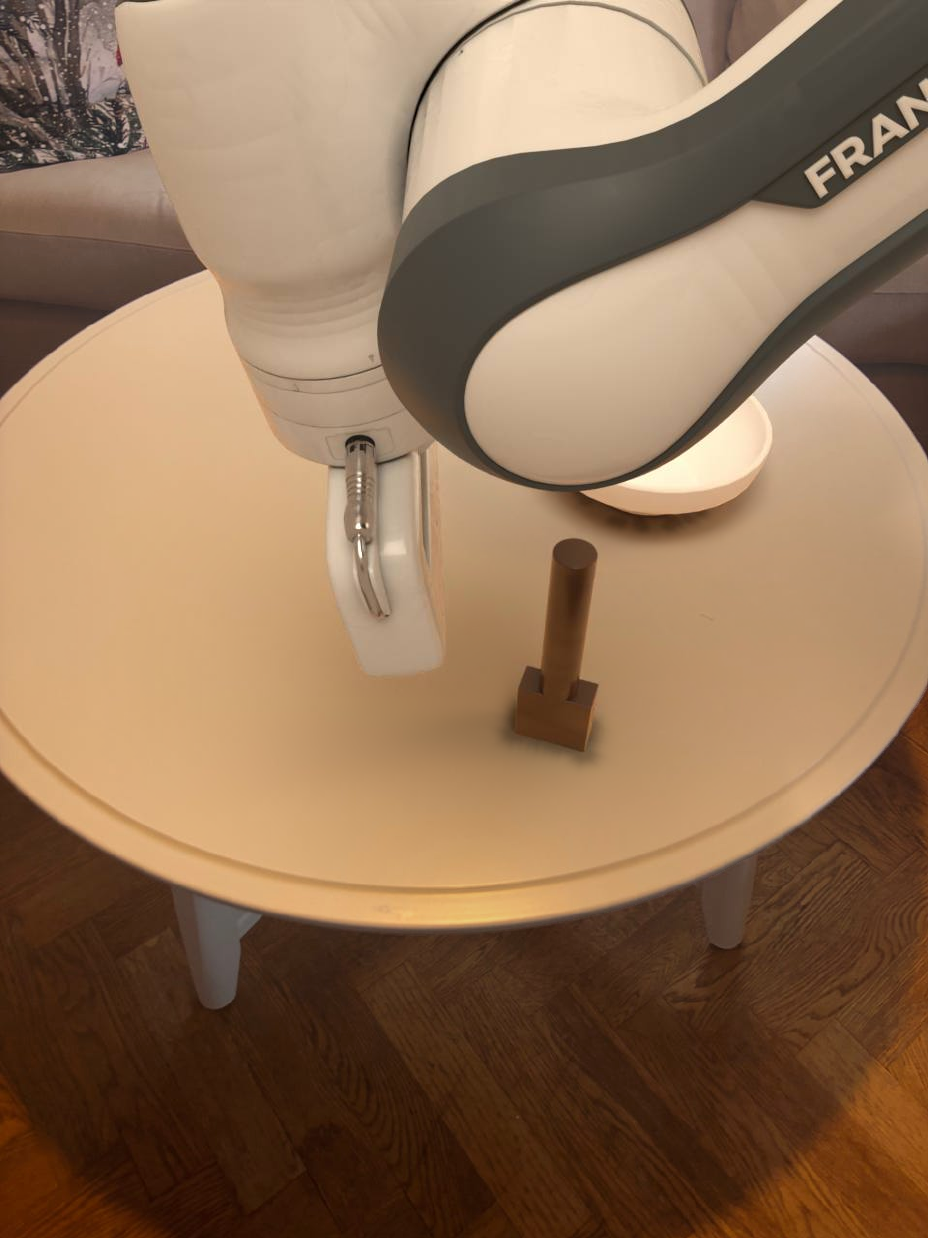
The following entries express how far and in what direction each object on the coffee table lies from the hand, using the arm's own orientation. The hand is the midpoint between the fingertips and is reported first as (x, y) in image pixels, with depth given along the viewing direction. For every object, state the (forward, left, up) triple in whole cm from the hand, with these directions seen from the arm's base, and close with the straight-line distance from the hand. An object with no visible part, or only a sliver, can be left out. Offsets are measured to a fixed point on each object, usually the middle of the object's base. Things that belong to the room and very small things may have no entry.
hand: (423, 565), depth 51 cm
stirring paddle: (-9, -2, -20) cm, 22 cm away
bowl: (-24, -27, -20) cm, 42 cm away
